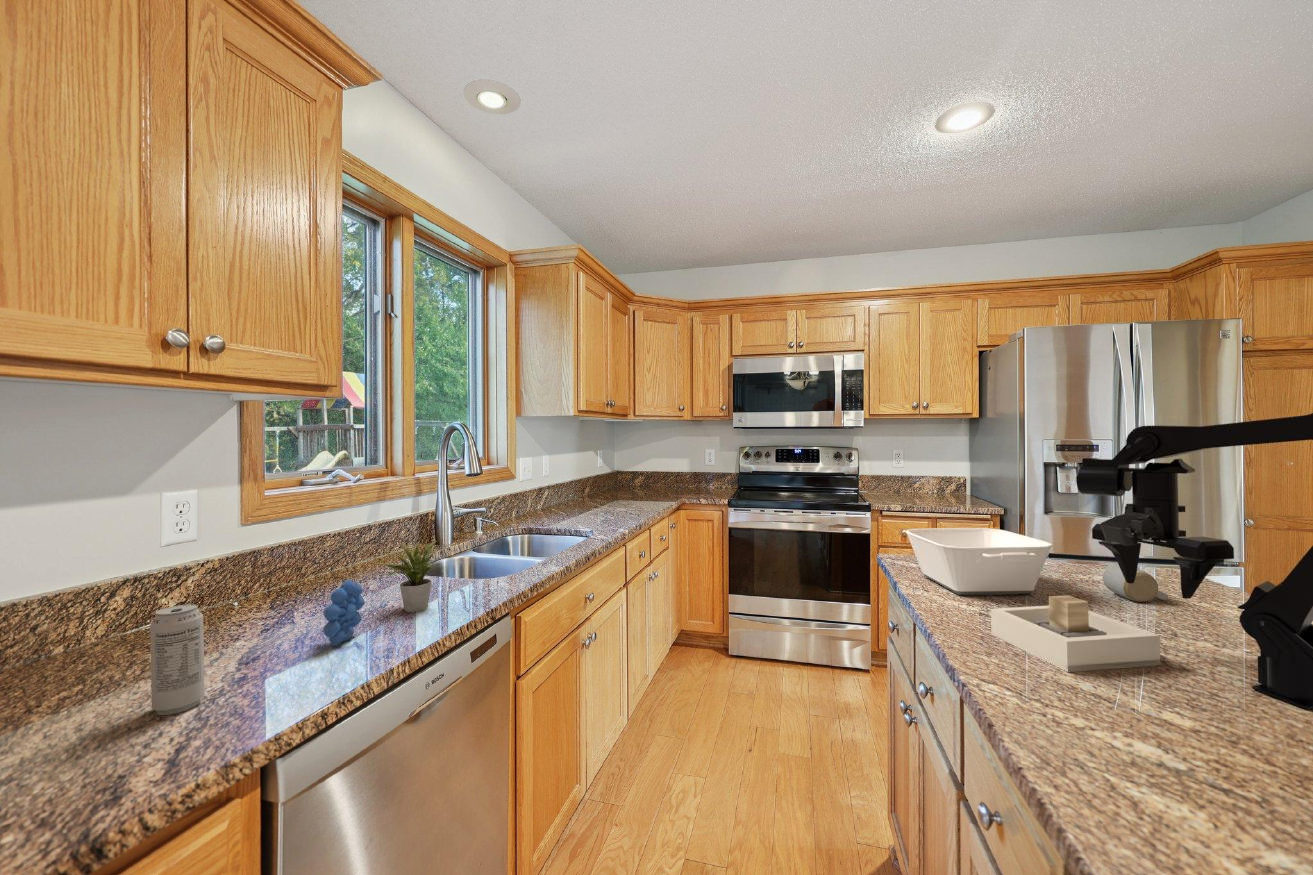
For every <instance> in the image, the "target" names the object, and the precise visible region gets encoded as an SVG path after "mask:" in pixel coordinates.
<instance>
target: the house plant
mask: <svg viewBox="0 0 1313 875" xmlns="http://www.w3.org/2000/svg"><path fill="white" fill-rule="evenodd" d="M436 542H437V540H436V541H432V542H429V543H425V545H424V546H423V547H422V548H421V551H420V553H419V547H420V546H419V545H420V544H419V541H417V543H415V544H416V547H415V549H414V548H410V547H409V546H408V545H406V544H404V543H402V545H403V546H402V545H400V547H401V549H403V550H404V552H405V554H406V555H407V557H408V559H409V561H408V560H406V558H405V557H404V556H402V555H401V554H399V553H397V552H394V551H389V550H385V552H386V553H388V555H392V556H395V557H396V558H397V559H398V560H400V561H401V562H402V563H403V565H401V564H395V563H379V565H381V566H385V569H389V570H392V571H391V572H389V573H388V574H386V577H389V576H390V575H393V574H396V573H397V574H399V576H400V577H402V578H404V579H405V580H404V581H402V582H400V583H399V588H400V593H401V599H402V604H403V609H404V611H405V612H409V613H412V612H413V613H414V612H420V611H424V610H426V609H427V608H428V607H429V602H430V595H431V589H432V583H433V580H432V579H430V578H425V576H426V575H427V574H428V572H429V571H430V570H432V569H434V568H436V567H438V565H434V564H433V562H430V563H429V561H430V560H431V559H432V557H433V555H434V554H436V552H437V549H435V550H434V551H433V548H435V543H436ZM411 550H412V552H411ZM432 551H433V553H431V552H432ZM389 553H393V554H389ZM409 562H410V563H409ZM430 565H432V567H429V566H430ZM386 567H388V568H386ZM440 567H441V568H443V567H442V565H440ZM385 569H384V570H385ZM403 575H404V576H403Z"/></svg>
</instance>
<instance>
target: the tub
mask: <svg viewBox="0 0 1313 875" xmlns="http://www.w3.org/2000/svg"><path fill="white" fill-rule="evenodd" d="M905 533H906V535H907V537H908V540H909V542H910V545H911V547H912V550H913V552H914V555H915V558H916V559H917V563H918V565H919V568H920V570H921V573H922V575H923V576H924V577H925V576H926V577H927V579H928V578H929V579H928V580H930V579H931V580H930V581H932V580H933V582H934V581H935V582H934V583H935V584H937V583H938V585H939V584H940V585H939V586H941V585H942V586H941V587H943V586H944V587H943V588H945V589H946V590H948V589H949V591H950V590H951V591H950V592H952V593H954V594H957V595H958V596H1015V595H1016V596H1019V595H1018V594H1027V595H1030V594H1031V593H1033V592H1034V591H1035V587H1036V585H1037V583H1038V580H1039V578H1040V577H1041V576H1040V575H1041V573H1042V570H1043V568H1044V565H1045V563H1046V560H1047V558H1048V556H1049V553H1050V551H1051V549H1052V547H1053V544H1052V543H1051V542H1049V541H1045V540H1041V539H1039V538H1035V537H1034V538H1033V537H1031V536H1027V535H1024V534H1019V533H1015V532H1012V531H1008V530H1004V529H997V528H992V527H991V528H989V527H945V528H943V527H941V528H935V527H933V528H911V529H907V530H906V531H905ZM926 577H925V578H926Z"/></svg>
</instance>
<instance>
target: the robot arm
mask: <svg viewBox="0 0 1313 875" xmlns="http://www.w3.org/2000/svg"><path fill="white" fill-rule="evenodd" d="M1302 441H1313V412H1312V413H1308V414H1304V415H1296V416H1286V417H1285V416H1283V417H1277V418H1276V417H1275V418H1269V419H1257V420H1250V421H1249V420H1248V421H1240V422H1239V421H1238V422H1231V423H1222V424H1221V423H1220V424H1213V425H1210V424H1209V425H1204V426H1203V425H1202V426H1200V425H1199V426H1198V425H1197V426H1196V425H1142V426H1141V425H1140V426H1137V427H1135V428H1133V429H1132V430H1131V431H1130V432H1129V433H1128V434H1127V437H1126V440H1125V445H1124V446H1123V447H1122V448H1121V449H1120V451H1119V452H1118V453H1117V454H1116V455H1114V457H1113V458H1112V459H1111V458H1108V459H1107V458H1105V459H1104V458H1103V459H1102V458H1097V457H1083V458H1082V460H1081V461H1082V462H1081V465H1080V466H1079V469H1078V472H1077V475H1076V478H1075V482H1076V486H1077V489H1078V491H1079V493H1080V494H1082V495H1092V496H1093V495H1094V496H1095V495H1096V496H1106V497H1107V496H1109V497H1122V496H1124V495H1125V494H1126V492H1130V491H1131V490H1132V495H1131V496H1132V503H1125V506H1124V512H1123V513H1122V514H1119V515H1115V516H1113V517H1111V518H1109V519H1107V520H1104V521H1102V522H1100V523H1095V525H1094V526H1092V529H1091V538H1092V540H1097V541H1098V544H1099V545H1100V546H1103V547H1105V548H1106V549H1107V550H1109V551H1110V552H1111V554H1112V555H1113V557H1114V559H1115V561H1116V563H1117V562H1118V565H1119V567H1120V569H1121V571H1122V574H1123V576H1124V578H1125V580H1126V582H1127V583H1129V584H1132V583H1134V581H1135V578H1136V574H1137V568H1139V566H1138V565H1139V560H1140V552H1141V547H1142V544H1147V545H1153V546H1158V547H1163V548H1167V549H1173V551H1174V552H1176V553H1177V555H1178V556H1173V560H1174V561H1175V562H1176V563H1177V565H1178V566H1179V570H1180V572H1179V573H1180V576H1179V577H1180V591H1181V597H1182V598H1183V599H1185V600H1190V599H1192V597H1193V596H1194V594H1195V593H1196V591H1197V590H1198V588H1199V587H1200V585H1201V584H1202V582H1203V581H1204V579H1205V578H1206V577H1207V575H1208V574H1209V573H1210V572H1211V571H1212V570H1213V569H1214V568H1215V566H1216V565H1217V564H1223V563H1225V560H1234V559H1235V548H1234V546H1233V545H1232V543H1230V542H1229V540H1227V539H1221V538H1214V537H1207V536H1189V537H1188V536H1187V531H1186V530H1185V529H1180V519H1179V518H1180V513H1186V505H1179V478H1178V477H1179V476H1178V474H1192V473H1195V472H1196V469H1195V468H1194V467H1193V466H1191V465H1189V464H1188V463H1186V462H1185V461H1184V460H1183V459H1182V458H1175V459H1173V460H1172V461H1171V462H1149V461H1152V460H1159V459H1161V460H1162V459H1167V458H1173V457H1178V456H1182V455H1188V454H1191V453H1196V452H1198V451H1199V452H1200V451H1204V450H1205V451H1206V450H1208V449H1217V448H1229V447H1230V448H1231V447H1240V446H1252V445H1253V446H1254V445H1263V444H1265V445H1266V444H1277V443H1289V442H1302ZM1145 463H1147V464H1146V465H1145V467H1130V466H1131V465H1140V464H1145ZM1237 609H1239V610H1242V611H1241V613H1240V615H1239V618H1238V620H1239V623H1240V625H1241V627H1242V629H1243V631H1245V633H1246V634H1247V635H1248V636H1249V637H1251V638H1252V639H1254V640H1255V642H1256V644H1257V645H1258V647H1259V650H1260V652H1259V653H1260V655H1257V656H1256V657H1257V664H1256V665H1257V682H1258V684H1252V685H1251V689H1253V690H1255V691H1257V692H1260V693H1262V694H1265V695H1267V696H1269V697H1273V698H1276V699H1278V700H1281V701H1283V702H1286V703H1288V704H1291V705H1294V706H1297V707H1299V708H1301V709H1305V710H1313V545H1311V547H1310V548H1309V549H1308V551H1307V552H1306V553H1305V554H1304V555H1303V556H1302V558H1301V559H1300V560H1298V563H1297V564H1296V565H1295V566H1294V567H1293V568H1292V570H1291V571H1290V572H1289V573H1288V574H1287V576H1286V577H1285V578H1284V579H1283V580H1282V581H1281V582H1280V583H1278V584H1277V585H1275V584H1274V583H1272V582H1271V581H1269V580H1266V581H1264V582H1262V583H1260V584H1258V585H1256V586H1254V588H1253V589H1252V591H1251V594H1250V596H1249V597H1248V599H1247V601H1245V602H1244V603H1242V604H1240V605H1238V606H1237Z"/></svg>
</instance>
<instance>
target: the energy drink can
mask: <svg viewBox="0 0 1313 875" xmlns="http://www.w3.org/2000/svg"><path fill="white" fill-rule="evenodd" d="M198 607H199V605H198V604H194V603H192V604H191V603H189V604H179V605H172V606H169V607H165V608H161V609H160V610H157V611H155V617H154V619H153V620H152V622H151V623H150V628H149V629H150V630H149V631H150V632H149V633H150V675H151V676H150V680H151V681H150V683H151V684H150V686H151V688H150V689H151V691H150V692H151V693H150V694H151V709H152V710H153V711H156V714H157V715H159V716H167V715H168V716H170V715H174V714H180V713H182V712H185V711H188V710H190V709H193V708H194V707H196V706H198V705H199V704H200V703H201V699H203V698H204V696H205V655H204V654H205V652H204V651H205V650H204V648H205V646H204V645H205V643H204V642H205V641H204V614H203V613H202V612H201V611H200V610H199V608H198Z"/></svg>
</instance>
